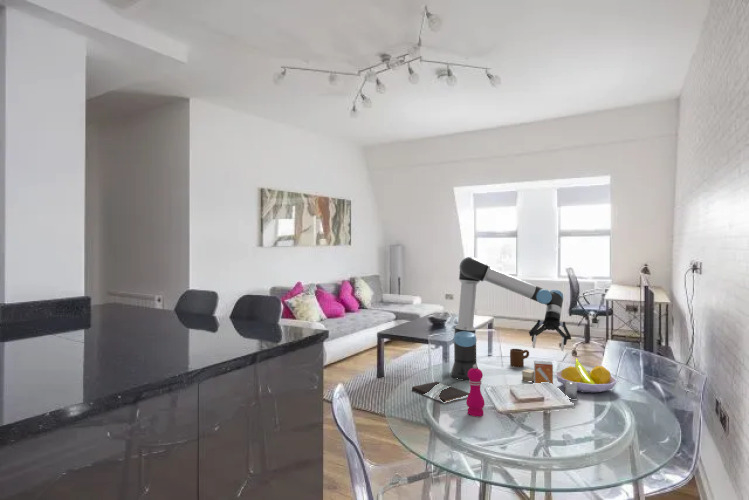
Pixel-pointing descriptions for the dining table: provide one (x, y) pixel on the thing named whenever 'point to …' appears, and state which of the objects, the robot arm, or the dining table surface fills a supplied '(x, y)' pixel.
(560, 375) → the fruit bowl
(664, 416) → the dining table surface
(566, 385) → the grey metal tin
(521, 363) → the mug
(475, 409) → the pepper mill
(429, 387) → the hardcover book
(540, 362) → the small box
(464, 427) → the dining table surface
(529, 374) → the birch block
